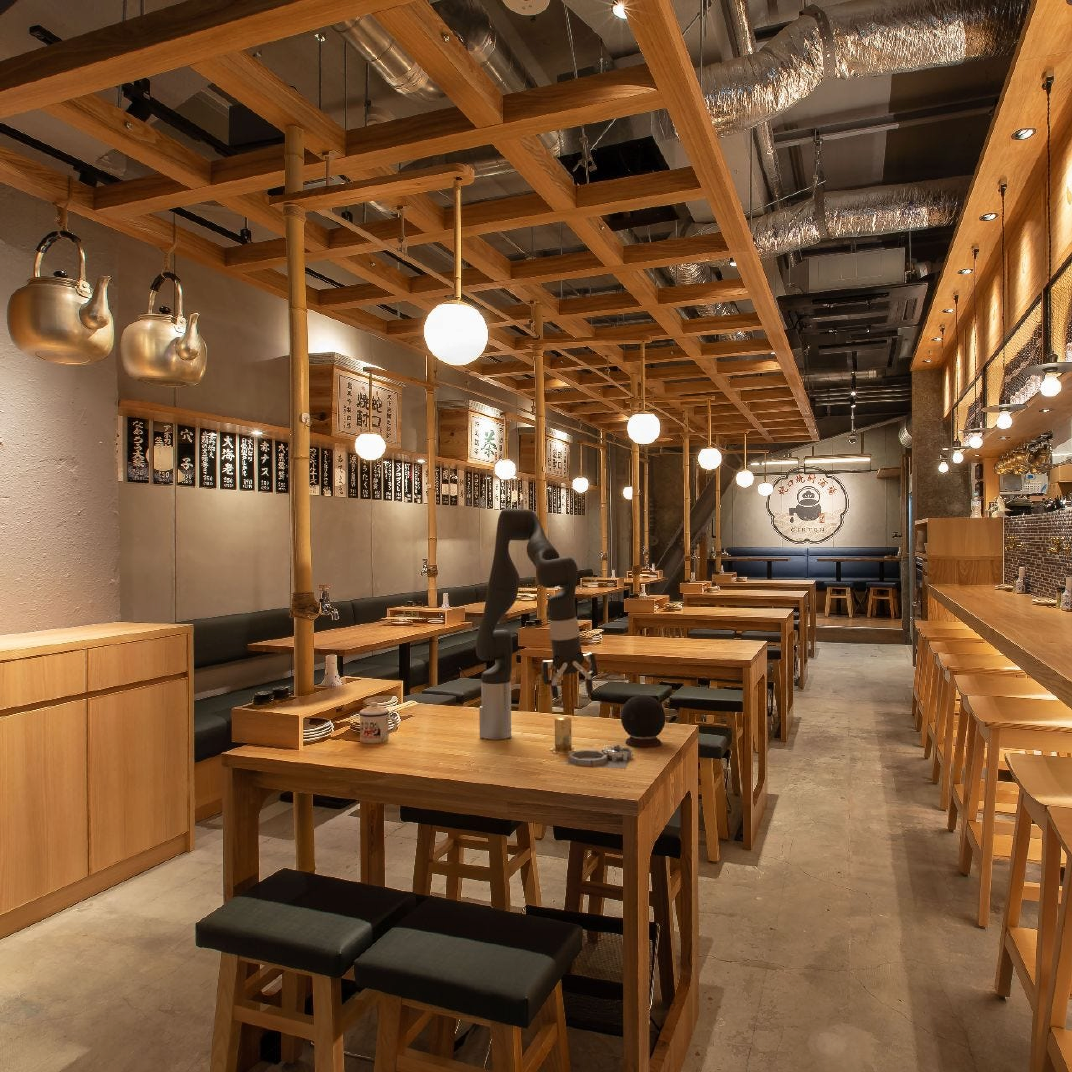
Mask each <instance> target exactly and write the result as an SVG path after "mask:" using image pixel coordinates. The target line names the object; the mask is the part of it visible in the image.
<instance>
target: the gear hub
mask: <svg viewBox="0 0 1072 1072" xmlns="http://www.w3.org/2000/svg"><path fill="white" fill-rule="evenodd" d="M572 735H573V734H572V718H571V717H569V716H568V717H567V716H558V717H555V718H554V747H552V748H551V747H550V749H549V751H550V752H552V754H554V755H556V754H557V755H565V756H566V755H569V754H570V753H571V752H574V751H578V750H577V749H575V748H574V746H572V745H573V744H572V741H573V739H572Z"/></svg>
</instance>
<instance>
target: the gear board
mask: <svg viewBox="0 0 1072 1072" xmlns="http://www.w3.org/2000/svg"><path fill="white" fill-rule="evenodd" d="M633 756H634V754H633V753H632V757H633ZM567 757H568V760H567V763H566V764H565V765H568V766H569V765H570V766H582V767H593V768H594V767H596V768H597V767H598V768H610V769H625V770H626V768H627V767H628V765H629V763H630V761H631V759H632V758H631V759H627V761H612V760H608V754H603V752H602V750H597V749H596V750H593V749H581V750H577V751H574V752H571V753H570V754H568V756H567Z"/></svg>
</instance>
